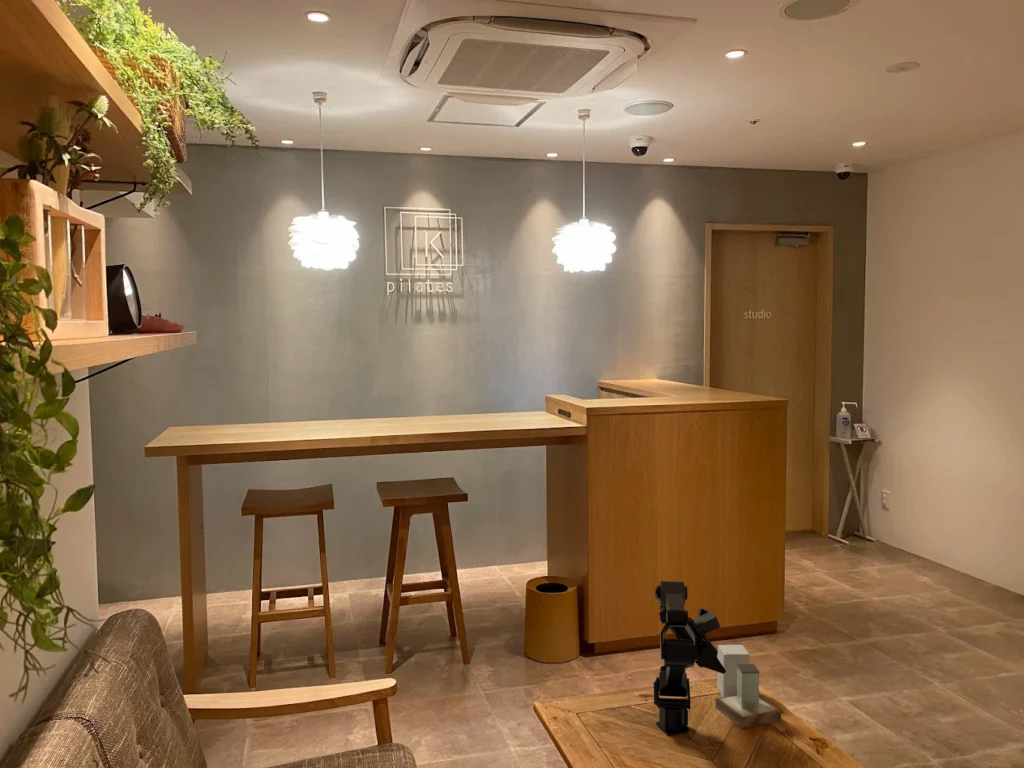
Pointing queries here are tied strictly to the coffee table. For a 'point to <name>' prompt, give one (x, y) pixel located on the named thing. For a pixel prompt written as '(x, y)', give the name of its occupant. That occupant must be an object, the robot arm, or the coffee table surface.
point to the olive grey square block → (747, 686)
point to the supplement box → (730, 667)
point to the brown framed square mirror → (748, 712)
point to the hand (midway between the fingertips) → (720, 665)
